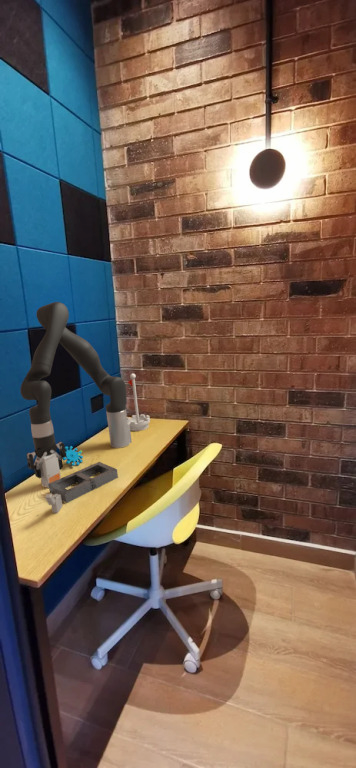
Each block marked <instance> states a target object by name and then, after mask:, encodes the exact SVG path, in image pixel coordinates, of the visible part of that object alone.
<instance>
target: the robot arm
mask: <svg viewBox="0 0 356 768" xmlns="http://www.w3.org/2000/svg"><path fill="white" fill-rule="evenodd" d="M69 317H70V313H69V310H68V307H67V306H66V305H65V304H64V303H63V302H59V301H54V302H51V303H49V304H46V305H45V304H44V305H42V306H40V307H38V309H37V310H36V318H37V321H38V323H39V324H40V325H41V327H42V328H44V330H45V331H46V332H45V334H44V336H43V337H42V340H41V341H40V342H39V344H38V346H37V347H36V350H35V351H34V354H33V357H32V361H31V365H30V368H29V370H28V372H27V373H26V375H25V377H24V378H23V380H22V383H21V385H20V387H19V388H20V389H19V390H20V391H19V392H20V395H21V397H22V399H24V400H26V401H37V404H36V405H34V406H31V407H30V408H29V411H28V413H29V419H30V428H31V436H32V440H33V441H32V442H33V446H34V451H33V452H27V453H26V461H27V468H28V469H29V470H31V471H34V475H35V477H36V478H37V479H40V480H41V472H40V469H39V468H40V465H41V464H42V463H43V458H44V457H46V456H48V455H51V454H55V455H56V457H58V463H59V469H60V471H61V470H63V466H64V464H63V458H64V457H66V450H65V447H66V446H65V443H64V442H62V441H58V443H56V438H55V431H54V430H55V429H54V425H53V421H52V418H51V417H52V416H51V411H50V410H51V409H50V407H51V399H52V386H51V385H50V384H49V382H47V381H46V380H42V379H44V378H47V377H48V376H50V375H51V371H52V367H53V363H54V359H55V355H56V351H57V348H58V346H59V344H60V345H61V346H62V347H63V348H64V349H65V350H66V351H67V353H69V355H70V356H71V357H72V358H73V360H75V362H76V363H77V364H78V365H79V366H80V367H81V369H83V370H84V371H85V373H86V374H87V375H89V377H90V379H91V380H92V381H93V382H94V384H95V385H96V386H97V388H98V389H99V391H100V392H101V393H102V394H104V396H109V399H110V400H109V403H107V404H106V406H105V411H106V420H107V427H108V428H107V429H108V433H109V441H110V442H109V443H110V447H112V448H117V449H118V448H123V447H126V446H129V445H130V444H131V443H132V433H131V432H132V431H131V430H130V424H129V423H128V421H127V418H128V415H127V402H128V397H127V396H128V395H127V388H126V387H127V386H126V381H125V380H124V379H123V378H122V377H119V376H111V375H110V374H109V373H108V372H107V371H106V370H105V369H104V367H103V366H102V364H101V361H100V356H99V354H98V352H97V351H96V350H95V348H94V347H93V346H92V344H91V343H90V342H88V341H87V340H86V339H84V338H83V337H81V336H79V335H77V334H75V333H74V332H72V331H71V330H69V329H68V328H67V327H66V326H67V323H68V321H69ZM57 449H59V453H58V452H56V451H57ZM35 456H36V458H35ZM37 457H39V458H40V460H38V458H37ZM34 459H35V460H34Z"/></svg>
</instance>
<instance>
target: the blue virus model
mask: <svg viewBox="0 0 356 768" xmlns="http://www.w3.org/2000/svg"><path fill="white" fill-rule="evenodd" d="M73 448H74V447H73V446H72V445H70V446H67V445H66V446H65V451H66V457H64V458H63V459H62V462H63V461H65V464H67V465H69V464H70V463H71V462H72V463H71V466H73V467H75V465H76V466H79V465H80V464H81V463H83V458H84V456H83V455H82V453H83V450H82V449H81V450H80V449H79V451H78V448H77V447H75V448H74V449H73Z"/></svg>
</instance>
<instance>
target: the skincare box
mask: <svg viewBox="0 0 356 768" xmlns="http://www.w3.org/2000/svg"><path fill="white" fill-rule="evenodd" d="M36 458H38V460H40V458H39V457H37V456H36ZM39 469H40V472H41V478H40V482H41V486H42V487H44V488H48V489H49V485H48V484H49V483H52V482H54V481H56V480H58V479H61V478H62V477H61V470H60V469H59V463H58V457H56V455H55V454H51V455H48V456H46V457H44V458H43V463H42V464H41V465H40V468H39Z"/></svg>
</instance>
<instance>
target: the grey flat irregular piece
mask: <svg viewBox="0 0 356 768" xmlns="http://www.w3.org/2000/svg"><path fill="white" fill-rule="evenodd" d="M44 499H45V500H46V502H47V504H48V505H49V506H51V511H52V514H58V513H59V512H60V510H61V509H62V508H63V501H62V500H61V495H58V494H54V495H53V494H51V493H46V494H45V496H44Z"/></svg>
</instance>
